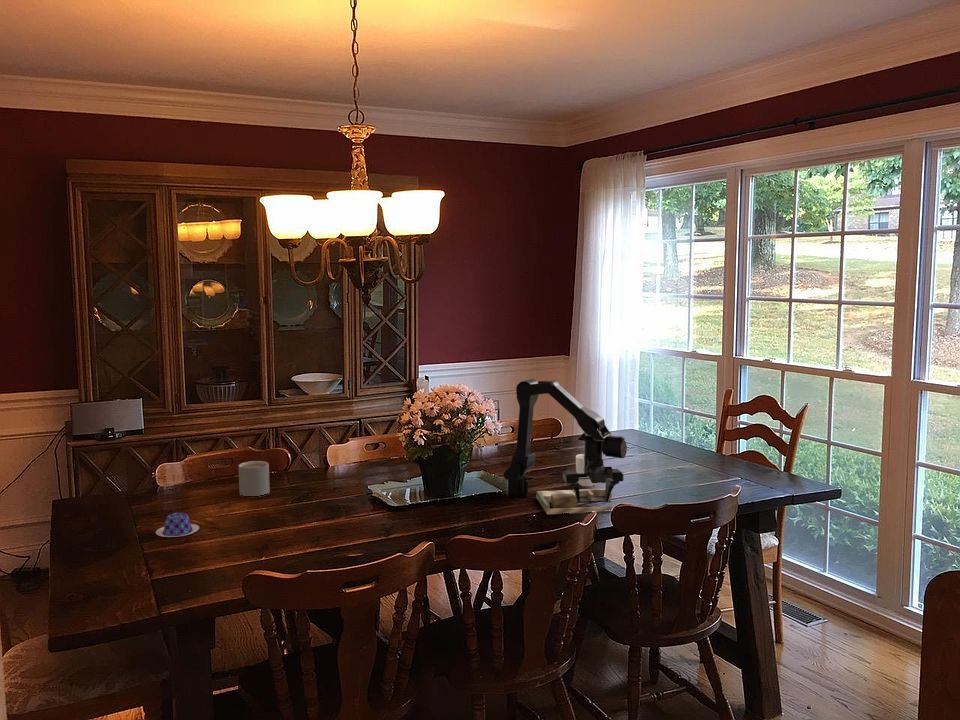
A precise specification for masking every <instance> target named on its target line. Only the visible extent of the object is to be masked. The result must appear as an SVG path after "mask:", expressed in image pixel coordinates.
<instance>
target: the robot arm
mask: <svg viewBox="0 0 960 720" xmlns="http://www.w3.org/2000/svg"><path fill="white" fill-rule="evenodd" d="M515 391H516V393H515V394H516V400H517V403H518V406H519V408H518V409H519V410H518V411H519V412H518V420H517V421H518V426H517V435H516V446H515V447H516V448H515V450H514V452H513V455H512V457H511V460H510V464H509V467H508V468H507V469H506V470H505V471H504V472H503V478H504V479H505V480H506V491H507V492H506V491H505V495H506V496H507V497H508V498H525V497H526V498H528V494H529V481H528V480H527V477H526V476H529V472H531V471H532V469H534V466H535V465H536V456H537V454H536V452H532V450H531V449H532V448H531V445H532V444H531V442H532V432H533V431H532V430H533V418H534V417H533V416H534V408H535V405H536V403H537V400H538V398H539V395H544V394H546V395H547V394H548V395H549V396H550V397H551V398H553V400H555V401H556V402H557V403H558V404H559V405H560V406H561V407H562V408H564V410H566V411H567V412H568V413H569V414H570V415H571V416H572V417H573V418H574V419H575V421H576V422H577V424H578V426H579V428H580V430H582V431H583V433H582V434H581V436H579V437H577V441H582V442H583V441H584V442H583V444H584V446H583V447H584V451H583V452H584V453H583V454H584V473H577V472H576V469H575V470H563V472H562V479H563V481H564V482H565V483H566V484H569V485H570V486H571V487H572V490H574V492H575V495H576V498H577V501H578V502H577V503H578V504H580V503H581V502H580V493H579V490H580V484H579V483H578V481H579V479H590V480H591V482H592V483H596V484H605V488H604V489H605V500H606V501H605V502H606V503H607V502H609V501H608V499H609V497H610V494H611V493H612V491H613V490H614V487H615V486H616V485H618V484H620V482H624V472H622V471H621V470H619V468H613V467H612V466H605V465H604V458H603V455H604V456H605V457H609V458H610V457H611V458H617V459H618V458H619V459H625V457H626V454H627V451H628V449H627V448H628V445H627V443H626V442H627V441H626V440H625V436H624V435H623V436H621V435H620V436H615V435H612V433H611V432H610V430H609V428H608V427H607V426H606V424H605V423H606V422H605V421H606V420H605V419H604V417H603V416H601V415H600V414H598V413H597V412H596V411H593V410H591V409H588V408H587V407H585V406H584V405H583V404H581V402H579V401H578V400H577V399H576V398H575V397H574V396H573V395H572V394H570V393H569V392H568V391H567V390H566V389H565V388H564V387H563V386H562V385H560V383H559V382H558V381H557V380H554V379H553V380H536V379H534V378H529V379H526V380H522V381H520V382H519V383H518V384H517V385H516V388H515Z"/></svg>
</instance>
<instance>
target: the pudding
mask: <svg viewBox="0 0 960 720" xmlns="http://www.w3.org/2000/svg"><path fill="white" fill-rule="evenodd" d="M199 529H200V525H197V524H195V523H191V521H190V518H189V515H188V514H187V513H185V512H174V513H170V514H168V515H167V516H166V518H165V521H164V526H162V527H160V528H158V529H157V530H156V531H155V534H156V535H157V536H159V537H163V538H164V537H165V538H176V537H184V536H188V535H191V534H194V533H195V532H197V531H199Z"/></svg>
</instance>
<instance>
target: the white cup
mask: <svg viewBox="0 0 960 720" xmlns="http://www.w3.org/2000/svg"><path fill="white" fill-rule="evenodd" d="M575 471H576V472H577V473H584V453H582V454H577V455H575ZM578 483H579V484H580V485H581V487H594V486H593V485H595V486H597V483H592V482H591V480H590V479H579V481H578ZM580 485H579V486H580Z"/></svg>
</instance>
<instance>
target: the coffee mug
mask: <svg viewBox="0 0 960 720" xmlns="http://www.w3.org/2000/svg"><path fill="white" fill-rule="evenodd" d="M238 488H239V496H241V495H243V496H259V497H261V496H260V495H264V494H267V493H268V494H270V491H271V490H270V465H269V462H267V461H264V460H251V461H246V462H242V463H239V464H238ZM268 494H267V495H268ZM243 496H242V497H243ZM264 496H265V495H264Z"/></svg>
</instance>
